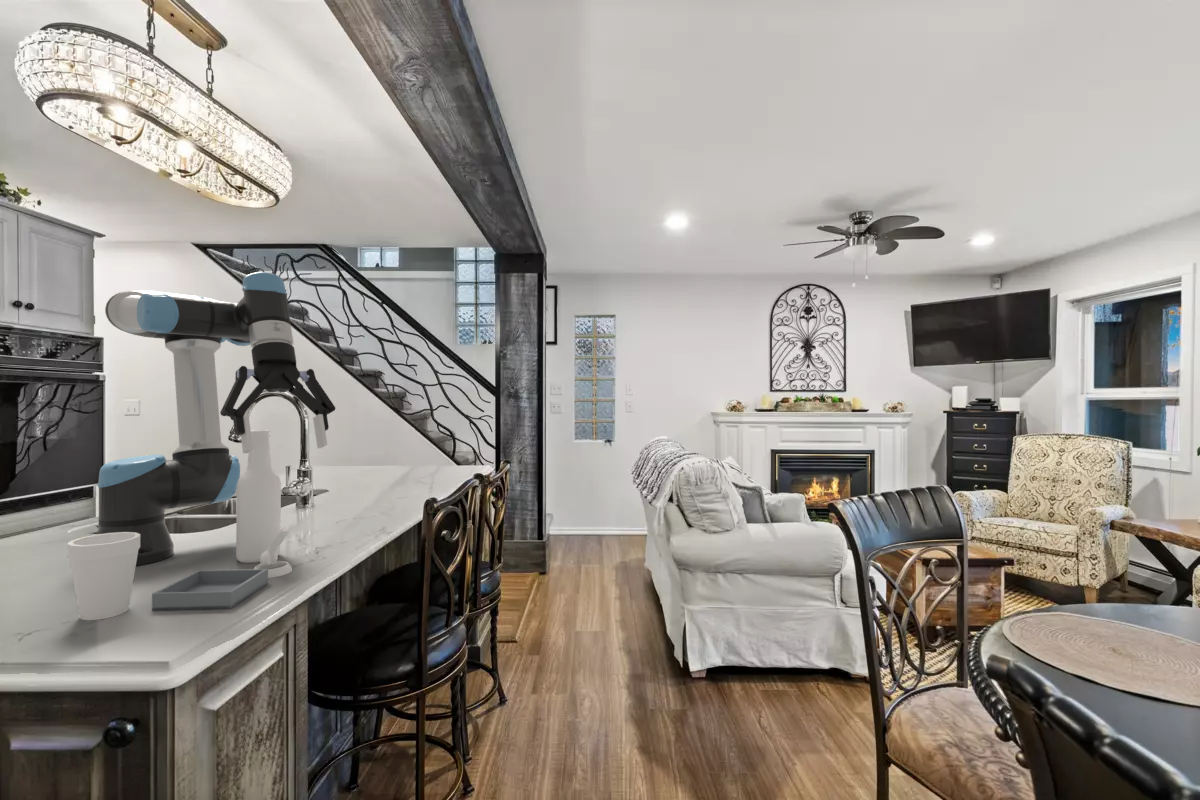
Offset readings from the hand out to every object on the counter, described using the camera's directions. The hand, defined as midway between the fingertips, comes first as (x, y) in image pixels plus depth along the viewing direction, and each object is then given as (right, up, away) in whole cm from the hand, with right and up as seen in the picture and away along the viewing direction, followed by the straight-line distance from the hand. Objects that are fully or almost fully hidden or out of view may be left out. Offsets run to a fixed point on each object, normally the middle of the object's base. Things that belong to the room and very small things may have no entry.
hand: (287, 449), depth 108 cm
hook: (-10, -28, +12) cm, 32 cm away
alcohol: (-19, -28, +22) cm, 40 cm away
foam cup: (-26, -28, -11) cm, 39 cm away
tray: (-12, -28, -3) cm, 30 cm away
